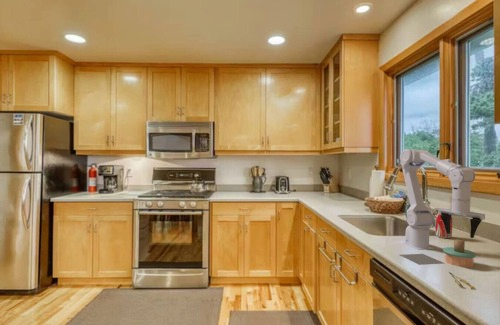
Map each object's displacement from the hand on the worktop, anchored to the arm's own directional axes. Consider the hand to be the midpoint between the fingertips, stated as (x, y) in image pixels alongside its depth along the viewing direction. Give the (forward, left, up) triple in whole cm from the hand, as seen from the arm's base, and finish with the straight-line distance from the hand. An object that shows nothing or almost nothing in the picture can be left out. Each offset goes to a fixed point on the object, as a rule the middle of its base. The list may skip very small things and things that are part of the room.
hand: (459, 235), depth 112 cm
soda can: (-34, +26, -11) cm, 44 cm away
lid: (+2, -2, -6) cm, 7 cm away
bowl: (+2, -2, -10) cm, 11 cm away
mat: (-4, -13, -10) cm, 17 cm away
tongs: (+15, -16, -11) cm, 25 cm away
